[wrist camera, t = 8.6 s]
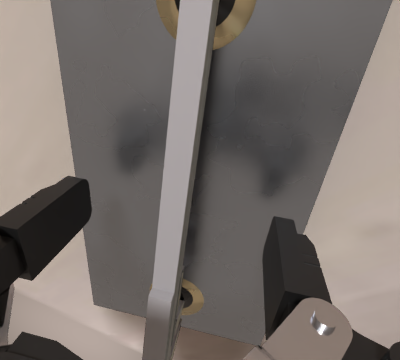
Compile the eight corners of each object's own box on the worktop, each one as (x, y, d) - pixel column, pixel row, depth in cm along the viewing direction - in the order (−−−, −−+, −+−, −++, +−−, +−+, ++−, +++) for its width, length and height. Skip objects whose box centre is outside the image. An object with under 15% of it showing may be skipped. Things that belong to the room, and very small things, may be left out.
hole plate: (415, -101, 8) (440, -125, 7) (259, 329, 18) (259, 346, 17) (55, -120, 9) (29, -143, 8) (102, 290, 20) (93, 305, 18)
